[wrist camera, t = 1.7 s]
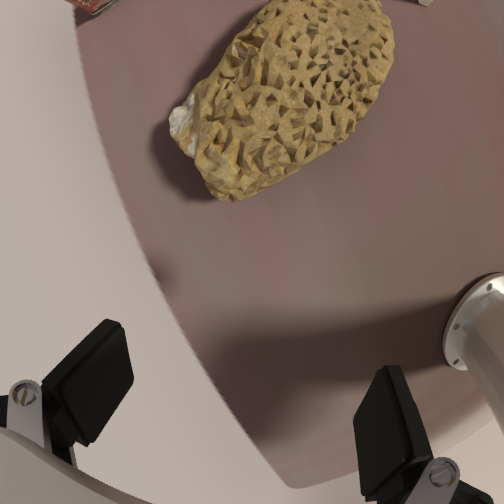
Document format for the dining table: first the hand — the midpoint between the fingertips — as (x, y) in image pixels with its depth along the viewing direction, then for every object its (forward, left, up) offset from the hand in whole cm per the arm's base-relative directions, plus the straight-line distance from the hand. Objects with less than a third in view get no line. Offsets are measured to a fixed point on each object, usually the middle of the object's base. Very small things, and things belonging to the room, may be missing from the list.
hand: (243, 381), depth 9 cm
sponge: (0, -14, -16) cm, 22 cm away
